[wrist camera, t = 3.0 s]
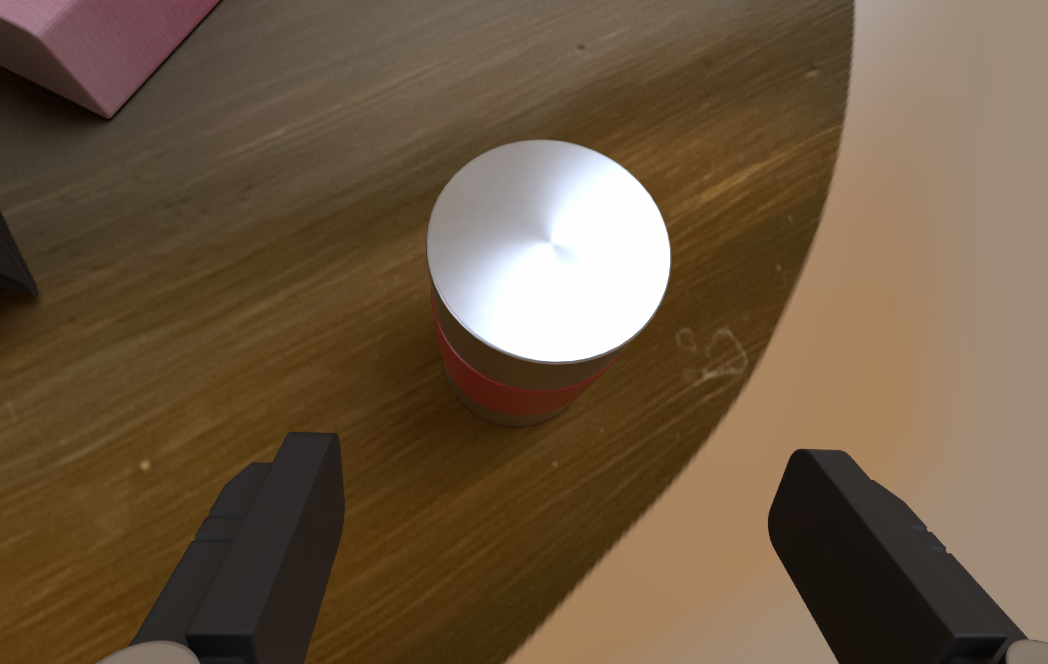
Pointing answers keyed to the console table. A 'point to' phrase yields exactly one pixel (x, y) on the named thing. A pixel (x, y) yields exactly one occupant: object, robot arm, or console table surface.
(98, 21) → the popsicle
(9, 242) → the lantern
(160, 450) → the console table surface
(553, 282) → the can
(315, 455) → the robot arm
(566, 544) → the console table surface
